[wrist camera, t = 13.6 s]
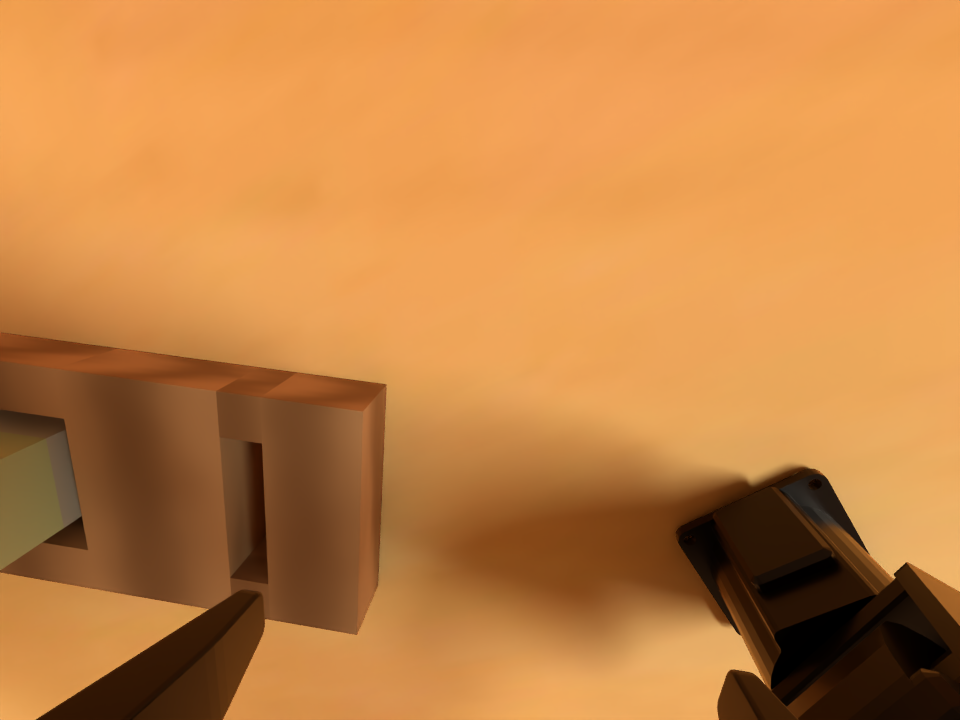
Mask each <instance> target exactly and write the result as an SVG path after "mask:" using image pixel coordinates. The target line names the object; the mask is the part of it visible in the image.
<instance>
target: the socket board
mask: <svg viewBox="0 0 960 720" xmlns="http://www.w3.org/2000/svg"><path fill="white" fill-rule="evenodd" d="M385 406H386V385H385V384H378V383H370V382H363V381H355V380H348V379H340V378H333V377H326V376H318V375H311V374H303V373H296V372H288V371H281V370H274V369H266V368H259V367H251V366H244V365H236V364H229V363H221V362H214V361H207V360H199V359H192V358H184V357H177V356H169V355H162V354H155V353H147V352H140V351H132V350H125V349H117V348H110V347H102V346H95V345H88V344H80V343H73V342H65V341H58V340H50V339H43V338H36V337H28V336H21V335H13V334H6V333H0V409H1V410H8V411H15V412H22V413H29V414H35V415H42V416H49V417H56V418H62V419H64V421H65V427H66V432H67V438H68V443H69V449H70V454H71V459H72V465H73V470H74V476H75V481H76V487H77V492H78V498H79V503H80V509H81V514H82V516H81V517H80V518H78V519H77V520H75V521H74V522H72V523H71V524H69V525H68V526H66V527H65V528H63V529H62V530H60V531H59V532H57V533H56V534H54V535H53V536H51V537H50V538H48V539H47V540H45V541H44V542H42V543H41V544H39V545H38V546H36V547H35V548H33V549H32V550H30V551H29V552H27V553H26V554H24V555H23V556H21V557H20V558H18V559H17V560H15V561H14V562H12V563H11V564H9V565H8V566H6V567H5V568H3V569H2V570H0V572H1V573H7V574H13V575H18V576H24V577H30V578H35V579H41V580H47V581H52V582H58V583H64V584H70V585H75V586H81V587H87V588H92V589H98V590H104V591H110V592H115V593H121V594H127V595H132V596H138V597H144V598H149V599H155V600H161V601H167V602H172V603H178V604H184V605H189V606H195V607H201V608H206V609H211V608H212V607H214V606H215V605H217V604H218V603H220V602H222V601H223V600H225V599H226V598H228V597H229V596H231V595H233V594H234V593H236V592H237V591H239V590H243V589H246V590H252V591H258V592H261V593H262V595H263V599H264V616H265V619H269V620H275V621H281V622H286V623H292V624H298V625H303V626H309V627H315V628H321V629H326V630H332V631H338V632H343V633H349V634H355V635H357V634H358V631H359V629H360V627H361V624H362V622H363V620H364V617H365V615H366V612H367V610H368V608H369V605H370V603H371V601H372V598H373V596H374V593H375V591H376V589H377V586H378V572H379V548H380V524H381V501H382V477H383V453H384V430H385ZM262 451H263V454H262ZM263 474H264V477H263ZM264 496H265V499H264ZM265 518H266V521H265Z"/></svg>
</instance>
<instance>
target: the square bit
mask: <svg viewBox="0 0 960 720" xmlns="http://www.w3.org/2000/svg"><path fill="white" fill-rule="evenodd" d="M81 516H82V514H81V509H80V503H79V498H78V492H77V487H76V481H75V476H74V470H73V465H72V459H71V454H70V449H69V443H68V438H67V432H66V427H65V421H64V419H62V418H56V417H49V416H42V415H35V414H29V413H22V412H15V411H8V410H1V409H0V570H2V569H3V568H5V567H6V566H8V565H9V564H11V563H12V562H14V561H15V560H17V559H18V558H20V557H21V556H23V555H24V554H26V553H27V552H29V551H30V550H32V549H33V548H35V547H36V546H38V545H39V544H41V543H42V542H44V541H45V540H47V539H48V538H50V537H51V536H53V535H54V534H56V533H57V532H59V531H60V530H62V529H63V528H65V527H66V526H68V525H69V524H71V523H72V522H74V521H75V520H77V519H78V518H80V517H81Z"/></svg>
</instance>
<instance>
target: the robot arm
mask: <svg viewBox="0 0 960 720" xmlns="http://www.w3.org/2000/svg"><path fill="white" fill-rule="evenodd" d="M814 479H816V481H815V483H813V484H811V485H808V484H809V482H810V481H811V480H814ZM690 535H691V536H693V537H692V538H690V539H685V537H687V536H690ZM676 538H677V540H678V543H679V545H680V546H681V548H682V550H683V551H684V553H685V554H686V556H687V557H688V559H689V560H690V562H691V563H692V565H693V566H694V568H695V569H696V571H697V572H698V574H699V575H700V577H701V579H702V580H703V582H704V583H705V585H706V586H707V588H708V589H709V591H710V592H711V594H712V595H713V597H714V598H715V600H716V601H717V603H718V605H719V606H720V608H721V609H722V611H723V612H724V614H725V615H726V617H727V618H728V620H729V621H730V623H731V624H732V626H733V627H734V629H735V630H736V632H737V633H738V634H739V635H741V636H742V638H743V640H744V642H745V644H746V646H747V648H748V650H749V652H750V654H751V656H752V658H753V660H754V662H755V664H756V666H757V668H758V670H759V672H760V674H761V676H762V678H763V680H764V682H765V684H766V685H765V684H764V683H763V682H762V681H761V680H760V679H759V678H758V677H757V676H756V675H754V674H753V673H750V672H745V671H739V670H730V671H729V672H728V673H727V675H726V678H725V681H724V684H723V687H722V690H721V693H720V696H719V699H718V705H717V710H718V717H719V720H960V592H959V591H957V590H955V589H954V588H952V587H950V586H948V585H947V584H945V583H943V582H941V581H940V580H938V579H936V578H934V577H933V576H931V575H929V574H927V573H926V572H924V571H922V570H920V569H919V568H917V567H915V566H913V565H912V564H910V563H908V562H906V563H905V564H904V565H903V566H902V567H901V568H900V569H899V570H897V571H896V572H895V573H894V576H895V577H896V578H895V579H893V578H892V577H891V576H890V575H889V574H888V573H887V572H886V571H885V570H884V569H883V568H882V567H881V566H880V565H879V564H878V563H877V562H876V561H875V560H874V559H873V558H872V557H871V556H870V555H869V553H868V551H867V549H866V547H865V546H864V544H863V542H862V540H861V538H860V537H859V535H858V533H857V531H856V529H855V528H854V526H853V524H852V522H851V520H850V519H849V517H848V515H847V513H846V511H845V510H844V508H843V506H842V504H841V503H840V501H839V499H838V497H837V495H836V494H835V492H834V490H833V488H832V486H831V485H830V483H829V481H828V479H827V478H826V477H825V476H824V475H823V474H822V473H821V472H820V471H818V470H816V469H807V470H804V471H802V472H800V473H797V474H795V475H793V476H791V477H789V478H786V479H784V480H782V481H780V482H778V483H776V484H773V485H771V486H769V487H767V488H765V489H762V490H760V491H758V492H756V493H754V494H751V495H749V496H747V497H745V498H743V499H740V500H738V501H736V502H734V503H732V504H729V505H727V506H725V507H723V508H721V509H719V510H716V511H714V512H712V513H710V514H708V515H705V516H703V517H701V518H699V519H697V520H694V521H692V522H690V523H688V524H686V525H683V526H681V527H680V528H679V529H678V530H677V531H676ZM264 627H265V616H264V599H263V595H262V593H261V592H258V591H252V590H246V589H243V590H239V591H237V592H236V593H234V594H233V595H231V596H229V597H228V598H226V599H225V600H223V601H222V602H220V603H218V604H217V605H215V606H214V607H212V608H211V609H209V610H207V611H206V612H204V613H203V614H201V615H200V616H198V617H196V618H195V619H193V620H192V621H190V622H189V623H187V624H185V625H184V626H182V627H181V628H179V629H178V630H176V631H174V632H173V633H171V634H170V635H168V636H167V637H165V638H163V639H162V640H160V641H159V642H157V643H156V644H154V645H152V646H151V647H149V648H148V649H146V650H145V651H143V652H141V653H140V654H138V655H137V656H135V657H134V658H132V659H130V660H129V661H127V662H126V663H124V664H123V665H121V666H119V667H118V668H116V669H115V670H113V671H112V672H110V673H108V674H107V675H105V676H104V677H102V678H100V679H99V680H97V681H96V682H94V683H93V684H91V685H89V686H88V687H86V688H85V689H83V690H82V691H80V692H78V693H77V694H75V695H74V696H72V697H71V698H69V699H67V700H66V701H64V702H63V703H61V704H60V705H58V706H56V707H55V708H53V709H52V710H50V711H49V712H47V713H45V714H44V715H42V716H41V717H39V718H38V719H36V720H223V718H224V716H225V714H226V712H227V710H228V708H229V706H230V704H231V702H232V699H233V697H234V695H235V693H236V691H237V689H238V687H239V684H240V682H241V680H242V678H243V676H244V674H245V672H246V669H247V667H248V665H249V663H250V661H251V659H252V657H253V655H254V652H255V650H256V648H257V646H258V644H259V642H260V640H261V637H262V635H263V632H264Z"/></svg>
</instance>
